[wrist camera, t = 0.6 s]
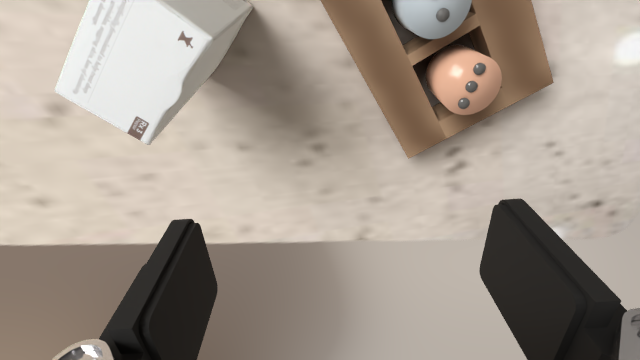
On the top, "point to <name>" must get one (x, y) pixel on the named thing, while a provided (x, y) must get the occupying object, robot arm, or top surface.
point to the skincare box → (146, 58)
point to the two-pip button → (431, 16)
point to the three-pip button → (463, 79)
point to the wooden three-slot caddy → (396, 60)
